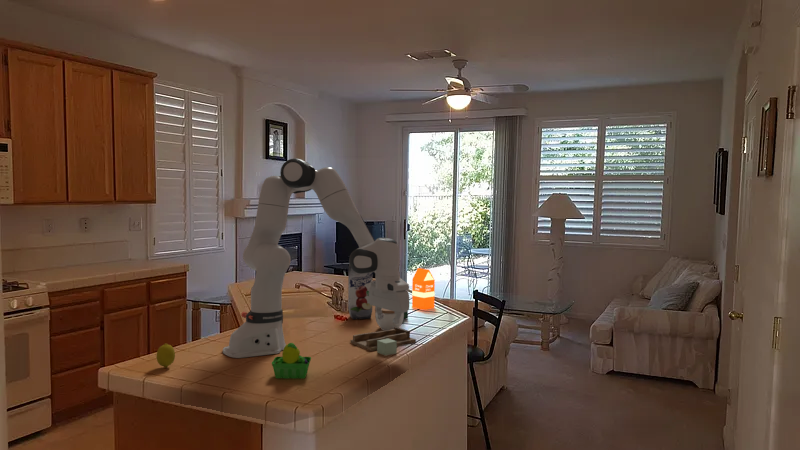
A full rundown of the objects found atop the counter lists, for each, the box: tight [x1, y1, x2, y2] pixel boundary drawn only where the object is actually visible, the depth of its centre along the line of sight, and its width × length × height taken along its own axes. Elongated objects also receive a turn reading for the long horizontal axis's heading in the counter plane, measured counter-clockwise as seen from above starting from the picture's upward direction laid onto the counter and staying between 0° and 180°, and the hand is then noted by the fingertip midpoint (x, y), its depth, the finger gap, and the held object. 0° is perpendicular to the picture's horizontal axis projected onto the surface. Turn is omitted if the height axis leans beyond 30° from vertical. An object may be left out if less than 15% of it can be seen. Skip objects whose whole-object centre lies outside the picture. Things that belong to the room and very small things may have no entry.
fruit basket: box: [271, 342, 312, 380], centre depth 169 cm, size 11×9×11 cm
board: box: [350, 327, 417, 352], centre depth 210 cm, size 21×14×4 cm, turn 127°
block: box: [376, 338, 398, 356], centre depth 196 cm, size 5×5×4 cm
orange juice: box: [411, 267, 436, 310], centre depth 280 cm, size 8×9×20 cm
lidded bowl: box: [374, 308, 405, 331], centre depth 233 cm, size 13×13×11 cm
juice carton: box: [347, 262, 374, 320], centre depth 254 cm, size 9×10×27 cm
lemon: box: [156, 342, 176, 369], centre depth 177 cm, size 6×6×8 cm
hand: (388, 321), depth 196 cm, fingers open, 8 cm apart
